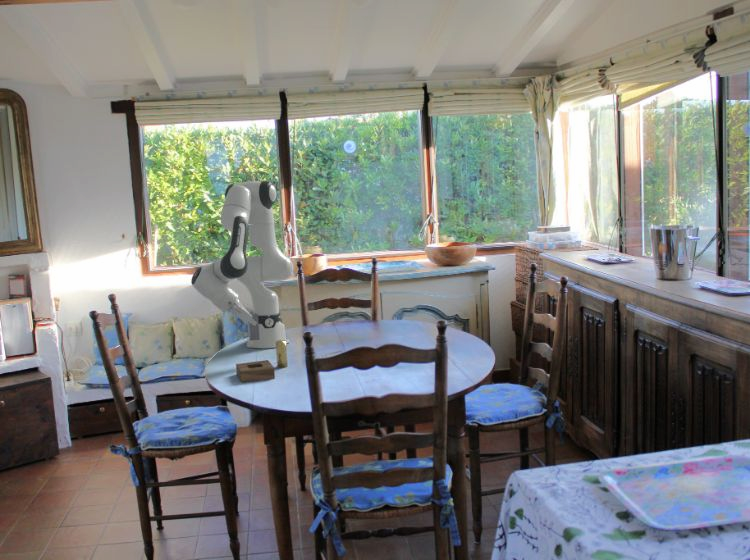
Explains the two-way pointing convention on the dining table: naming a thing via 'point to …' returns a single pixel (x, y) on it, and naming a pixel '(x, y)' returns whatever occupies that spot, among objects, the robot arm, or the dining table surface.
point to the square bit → (253, 328)
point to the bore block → (255, 371)
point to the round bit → (281, 353)
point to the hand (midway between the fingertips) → (254, 322)
